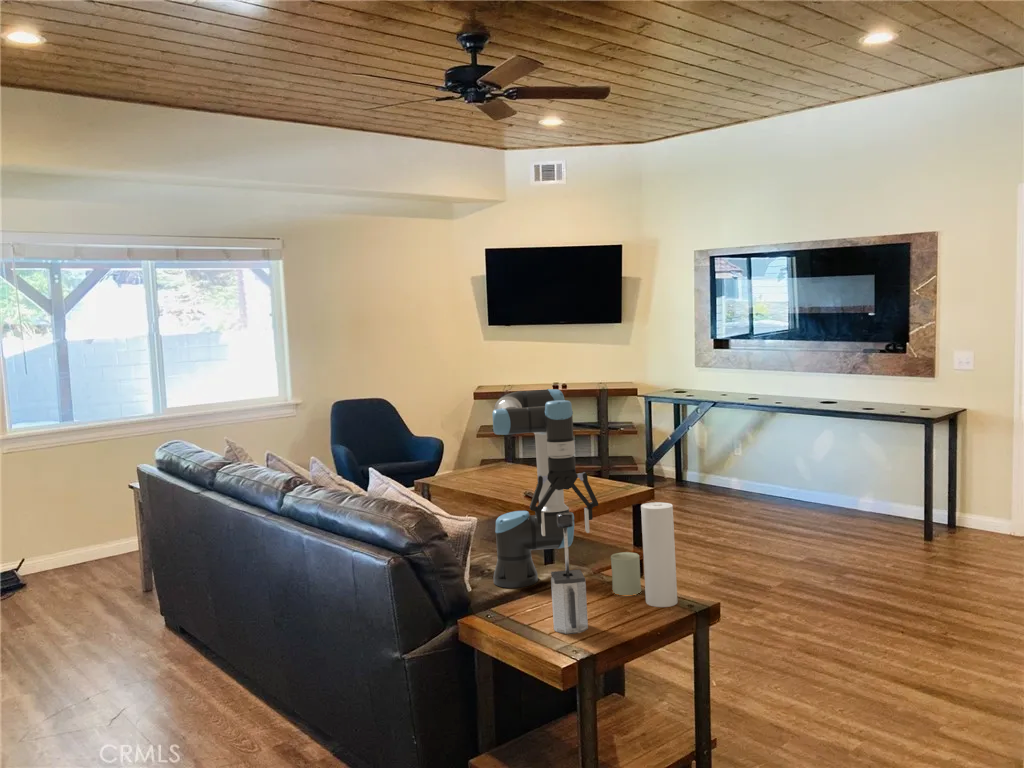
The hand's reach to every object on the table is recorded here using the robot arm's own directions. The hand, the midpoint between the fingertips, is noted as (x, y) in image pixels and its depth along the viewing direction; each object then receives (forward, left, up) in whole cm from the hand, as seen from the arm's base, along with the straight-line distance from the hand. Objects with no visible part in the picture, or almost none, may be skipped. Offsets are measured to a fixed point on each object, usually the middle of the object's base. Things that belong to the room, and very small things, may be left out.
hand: (565, 533), depth 213 cm
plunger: (0, 0, -15) cm, 15 cm away
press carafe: (+1, 0, -27) cm, 27 cm away
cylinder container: (-15, +30, -27) cm, 43 cm away
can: (-27, +22, -27) cm, 44 cm away
